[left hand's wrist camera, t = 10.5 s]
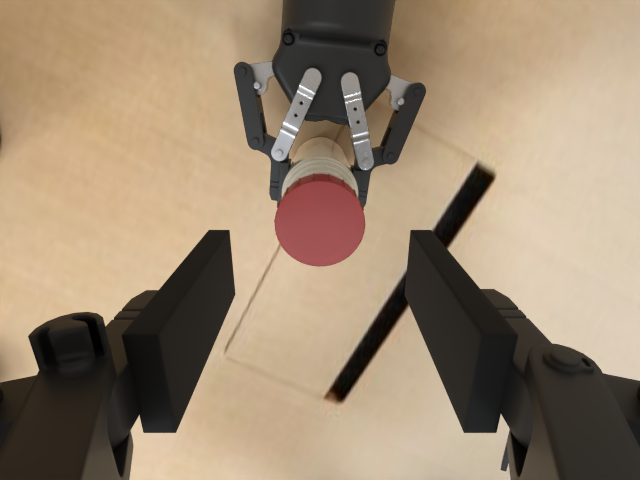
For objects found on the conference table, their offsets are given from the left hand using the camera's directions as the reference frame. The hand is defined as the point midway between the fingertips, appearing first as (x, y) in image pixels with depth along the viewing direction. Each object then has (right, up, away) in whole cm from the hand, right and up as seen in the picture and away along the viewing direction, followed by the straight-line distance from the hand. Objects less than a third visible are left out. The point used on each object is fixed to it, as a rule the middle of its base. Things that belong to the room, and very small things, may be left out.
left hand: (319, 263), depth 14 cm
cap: (0, +2, +5) cm, 5 cm away
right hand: (0, +4, +16) cm, 17 cm away
